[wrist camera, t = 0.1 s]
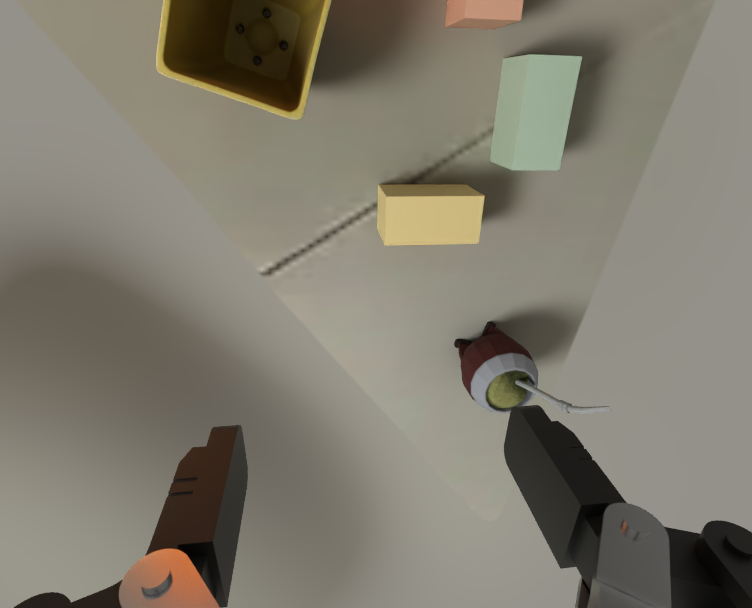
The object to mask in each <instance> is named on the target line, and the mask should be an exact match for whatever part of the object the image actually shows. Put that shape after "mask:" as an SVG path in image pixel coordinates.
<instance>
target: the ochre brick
mask: <svg viewBox="0 0 752 608" xmlns="http://www.w3.org/2000/svg"><path fill="white" fill-rule="evenodd" d="M484 197H485V196H484V195H482V194H481V193H479V192H477V191H476V190H474V189H473V188H471V187H469V186H468V185H466V184H400V185H378V219H377V229H378V231H379V233H380V236H381V238H382V240H383V242H384V244H385V245H432V244H478V243H479V235H480V228H481V220H482V212H483V204H484Z"/></svg>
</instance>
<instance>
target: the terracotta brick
mask: <svg viewBox="0 0 752 608" xmlns="http://www.w3.org/2000/svg"><path fill="white" fill-rule="evenodd" d="M523 1H524V0H447V13H446V26H445V27H453V28H478V29H497V28H500V27H503V26H506V25H509V24H512V23H515V22H518V21H521V15H522V8H523Z"/></svg>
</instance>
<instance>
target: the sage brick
mask: <svg viewBox="0 0 752 608" xmlns="http://www.w3.org/2000/svg"><path fill="white" fill-rule="evenodd" d="M581 60H582V56H560V55H535V54H529V55H522V56H516V57H510V58H503V64H502V72H501V79H500V87H499V95H498V102H497V110H496V117H495V125H494V132H493V140H492V147H491V155H490V162H493V163H495V164H498V165H500V166H503V167H505V168H508V169H510V170H559V169H560V164H561V159H562V154H563V149H564V144H565V139H566V134H567V129H568V124H569V119H570V114H571V109H572V104H573V99H574V95H575V90H576V85H577V80H578V75H579V70H580V65H581Z"/></svg>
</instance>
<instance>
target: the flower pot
mask: <svg viewBox="0 0 752 608" xmlns="http://www.w3.org/2000/svg"><path fill="white" fill-rule="evenodd" d="M331 1H332V0H163V7H162V15H161V24H160V30H159V37H158V44H157V54H156V67H157V70H158V72H159V73H160V74H162V75H164V76H166V77H169V78H172V79H175V80H178V81H181V82H184V83H187V84H190V85H193V86H196V87H199V88H202V89H205V90H208V91H211V92H214V93H217V94H220V95H223V96H226V97H229V98H232V99H235V100H238V101H241V102H243V103H246V104H249V105H252V106H255V107H258V108H260V109H263V110H266V111H268V112H271V113H274V114H277V115H280V116H283V117H286V118H289V119H292V120H300V119H301V118H302V117H303V115H304V112H305V108H306V103H307V99H308V94H309V90H310V85H311V80H312V76H313V72H314V67H315V63H316V59H317V55H318V51H319V47H320V43H321V39H322V35H323V32H324V28H325V24H326V20H327V17H328V13H329V9H330V5H331ZM265 9H269V10H270V11H271V16H270V17H269V18H266V17H265V16H264V14H263V11H264V10H265ZM239 24H241V25H242V26H243V27H244V32H243V33H239V32H238V31H237V30H236V27H237V25H239ZM282 41H284V42H286V43H287V49H285V50H282V49H281V48H280V43H281V42H282ZM256 56H258V57H260V58H261V64H259V65H257V64H255V63H254V57H256Z"/></svg>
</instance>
